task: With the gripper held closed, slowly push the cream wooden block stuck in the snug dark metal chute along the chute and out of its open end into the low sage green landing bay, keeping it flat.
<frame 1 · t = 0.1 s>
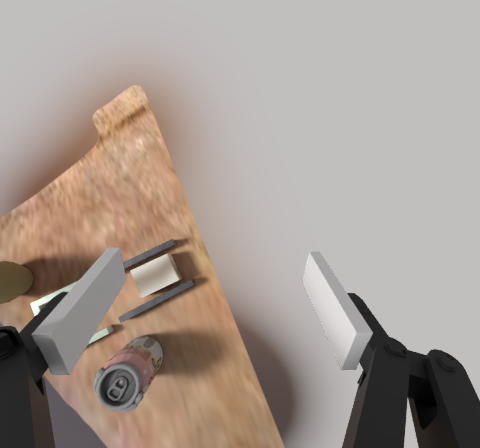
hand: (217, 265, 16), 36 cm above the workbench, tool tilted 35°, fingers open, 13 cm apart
chute: (150, 278, 49), on the workbench
block: (159, 274, 50), on the workbench
landing bay: (78, 314, 47), on the workbench
squeeze bottle: (20, 280, 48), on the workbench
beverage can: (142, 357, 47), on the workbench
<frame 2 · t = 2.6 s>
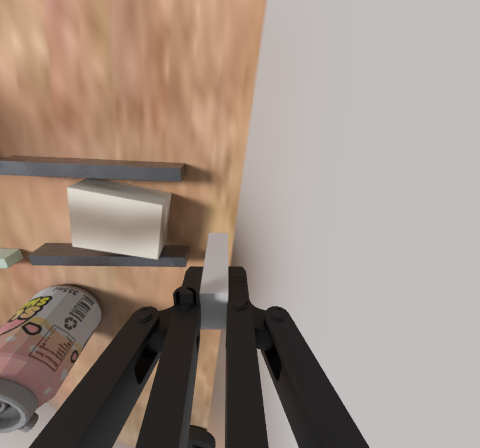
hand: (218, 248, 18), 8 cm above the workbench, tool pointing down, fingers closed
chute: (111, 210, 24), on the workbench
block: (132, 210, 25), on the workbench
beverage can: (69, 306, 30), on the workbench
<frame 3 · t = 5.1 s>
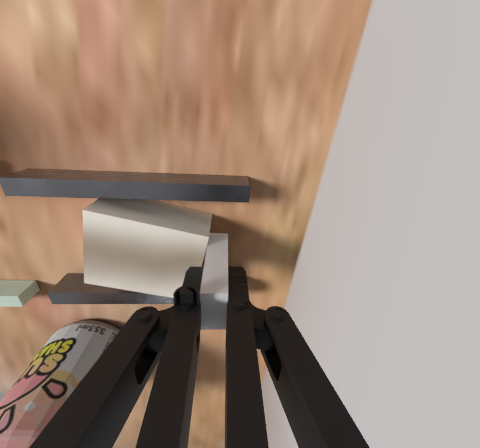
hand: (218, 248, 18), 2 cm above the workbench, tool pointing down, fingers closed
chute: (150, 235, 19), on the workbench
block: (159, 233, 20), on the workbench, touching gripper
beverage can: (93, 342, 25), on the workbench
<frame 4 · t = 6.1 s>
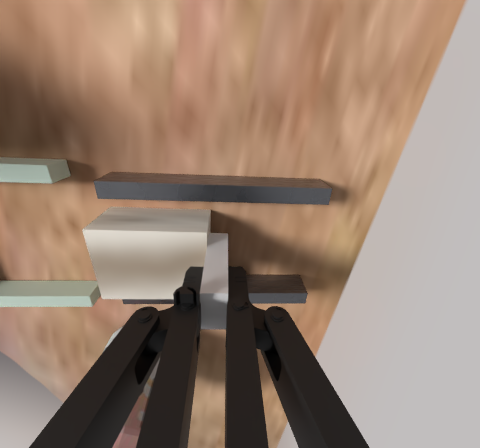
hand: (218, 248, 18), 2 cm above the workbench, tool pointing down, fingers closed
chute: (218, 236, 20), on the workbench
block: (164, 239, 20), on the workbench
landing bay: (24, 233, 19), on the workbench
beverage can: (147, 341, 26), on the workbench
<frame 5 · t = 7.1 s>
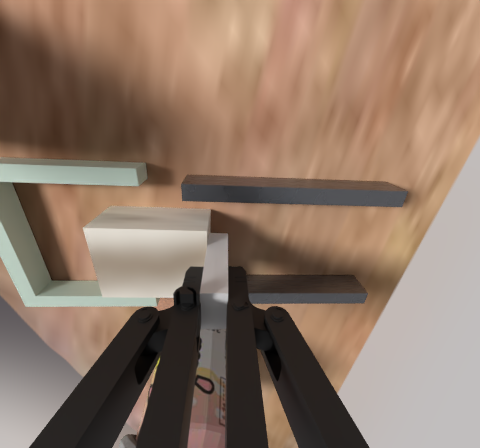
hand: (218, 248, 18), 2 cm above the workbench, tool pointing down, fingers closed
chute: (280, 237, 20), on the workbench
block: (165, 238, 20), on the workbench, touching gripper
landing bay: (95, 234, 19), on the workbench
beverage can: (196, 341, 26), on the workbench
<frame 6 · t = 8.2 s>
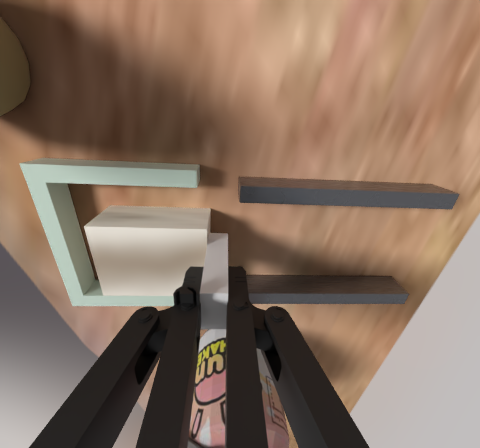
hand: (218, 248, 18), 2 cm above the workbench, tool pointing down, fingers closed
chute: (323, 238, 20), on the workbench
block: (165, 237, 20), on the workbench
landing bay: (142, 235, 19), on the workbench
beverage can: (230, 340, 26), on the workbench
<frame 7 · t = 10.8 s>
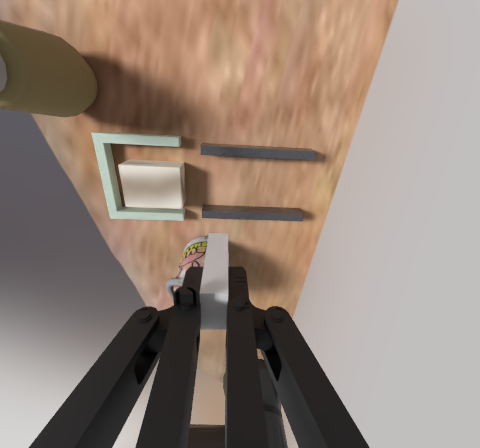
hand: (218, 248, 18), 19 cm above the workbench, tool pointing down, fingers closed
chute: (254, 181, 36), on the workbench
block: (159, 180, 35), on the workbench
landing bay: (150, 177, 34), on the workbench
squeeze bottle: (75, 81, 29), on the workbench
beverage can: (204, 254, 41), on the workbench
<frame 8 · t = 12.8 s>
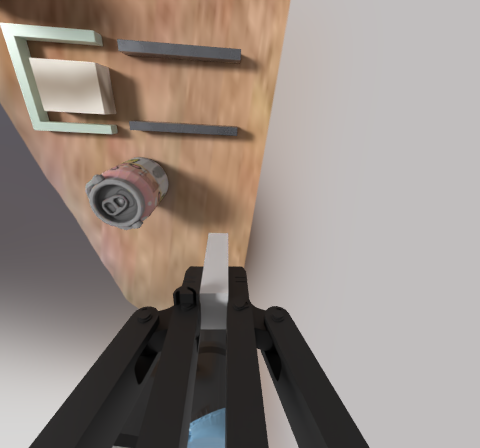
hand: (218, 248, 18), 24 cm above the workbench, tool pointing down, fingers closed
chute: (185, 93, 34), on the workbench
block: (85, 90, 34), on the workbench
landing bay: (74, 85, 33), on the workbench
beverage can: (143, 181, 40), on the workbench
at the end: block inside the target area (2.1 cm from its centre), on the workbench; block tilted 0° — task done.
